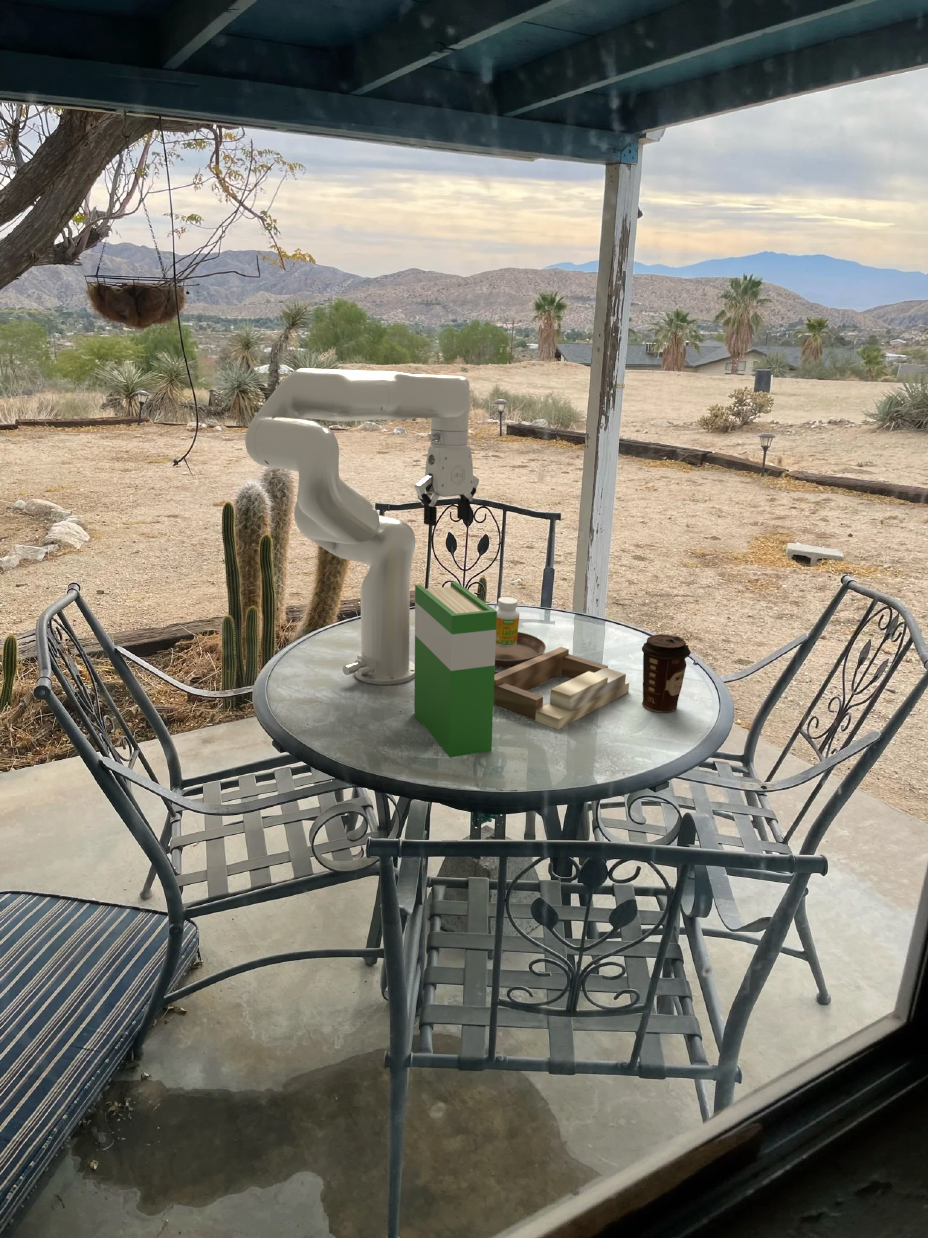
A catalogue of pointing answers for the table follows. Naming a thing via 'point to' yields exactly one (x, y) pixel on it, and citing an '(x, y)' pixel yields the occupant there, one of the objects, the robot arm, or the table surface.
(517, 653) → the plant saucer
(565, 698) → the frame
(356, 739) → the table surface
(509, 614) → the supplement bottle
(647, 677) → the coffee cup
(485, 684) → the hardback book
